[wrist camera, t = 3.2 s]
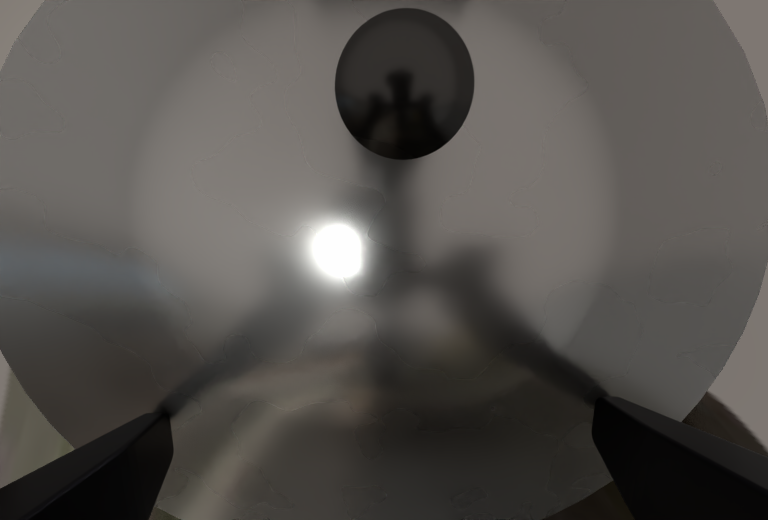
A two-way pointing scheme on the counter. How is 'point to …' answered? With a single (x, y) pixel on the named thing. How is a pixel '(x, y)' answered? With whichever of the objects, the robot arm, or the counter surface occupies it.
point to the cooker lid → (376, 239)
